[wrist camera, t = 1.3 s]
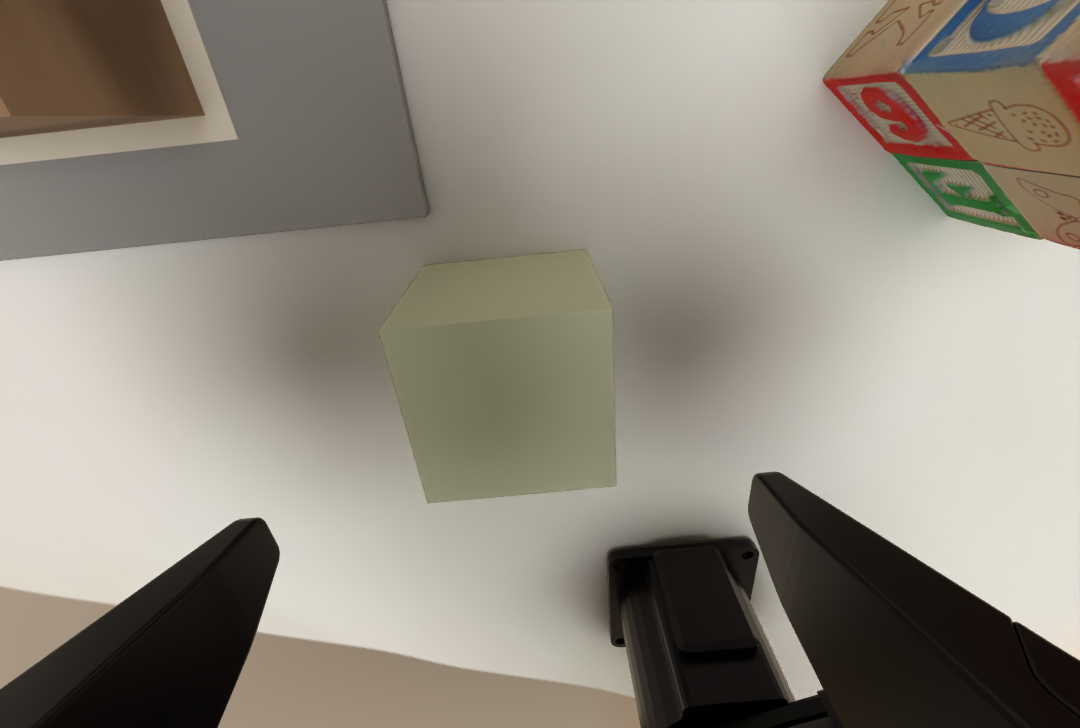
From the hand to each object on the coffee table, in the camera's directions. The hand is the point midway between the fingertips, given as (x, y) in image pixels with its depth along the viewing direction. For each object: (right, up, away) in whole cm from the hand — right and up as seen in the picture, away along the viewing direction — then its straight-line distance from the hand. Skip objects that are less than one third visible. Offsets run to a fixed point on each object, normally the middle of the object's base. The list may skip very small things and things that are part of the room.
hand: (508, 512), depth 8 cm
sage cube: (0, +4, +7) cm, 8 cm away
